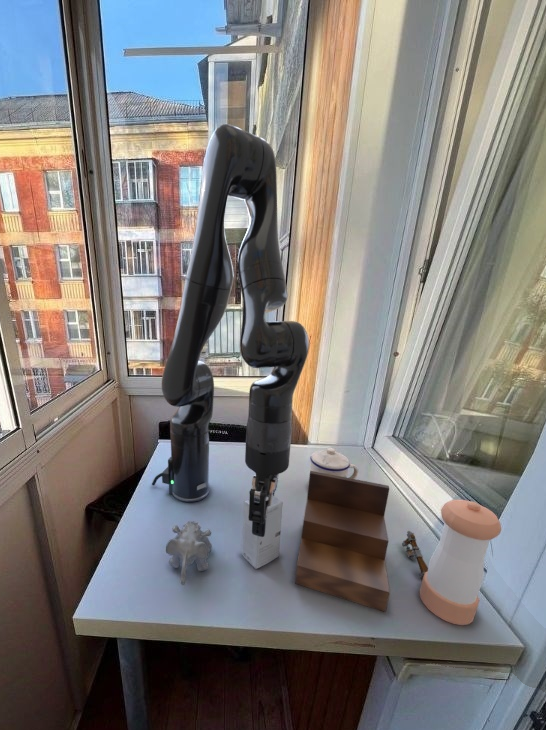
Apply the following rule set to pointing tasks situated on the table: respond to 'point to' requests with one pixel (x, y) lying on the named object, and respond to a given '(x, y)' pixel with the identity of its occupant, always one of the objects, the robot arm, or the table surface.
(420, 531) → the table surface
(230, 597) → the table surface
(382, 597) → the shelf riser
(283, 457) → the robot arm
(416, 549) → the wooden post with brackets
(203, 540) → the elephant statuette
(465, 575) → the salt shaker
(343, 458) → the teacup with lid
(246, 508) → the cosmetic box
